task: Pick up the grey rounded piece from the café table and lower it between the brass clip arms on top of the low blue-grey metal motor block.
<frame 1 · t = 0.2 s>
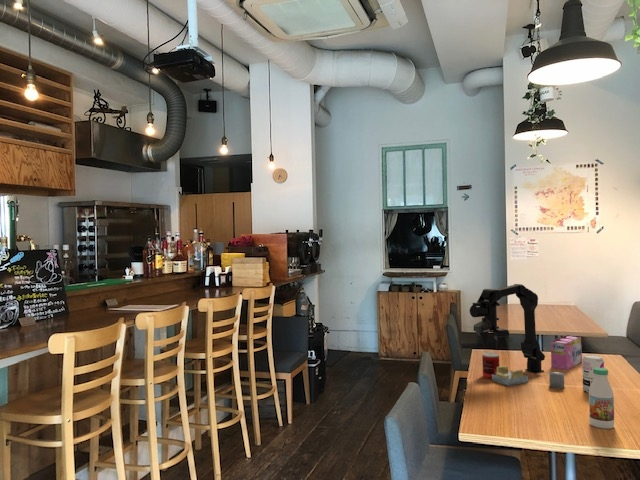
hand: (491, 348, 238), 14 cm above the table, fingers open, 9 cm apart
canned food: (491, 377, 241), on the table
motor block: (509, 381, 233), on the table
pink drink carton pack: (567, 365, 262), on the table
grey rounded piece: (557, 387, 223), on the table
supplement can: (593, 392, 215), on the table
milk bottle: (601, 425, 177), on the table
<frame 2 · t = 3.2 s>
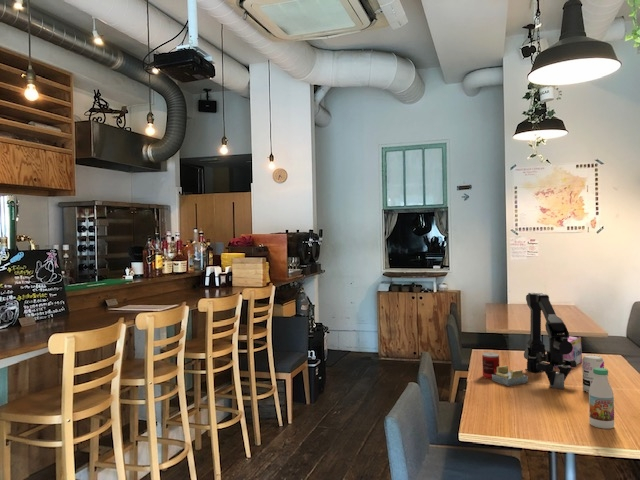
hand: (556, 384, 223), 1 cm above the table, fingers closed on grey rounded piece, 6 cm apart
grey rounded piece: (557, 386, 223), on the table, touching gripper
everything else where it was.
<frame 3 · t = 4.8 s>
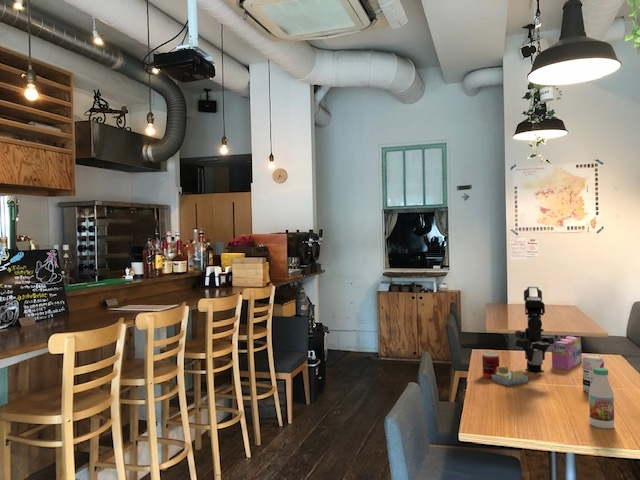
hand: (535, 360, 227), 11 cm above the table, fingers closed on grey rounded piece, 6 cm apart
grey rounded piece: (535, 363, 227), point 10 cm above the table, touching gripper
everything else where it was.
when the fingers open (6 cm above the table, at t = 6.7 s): grey rounded piece drops 2 cm, resting on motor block.
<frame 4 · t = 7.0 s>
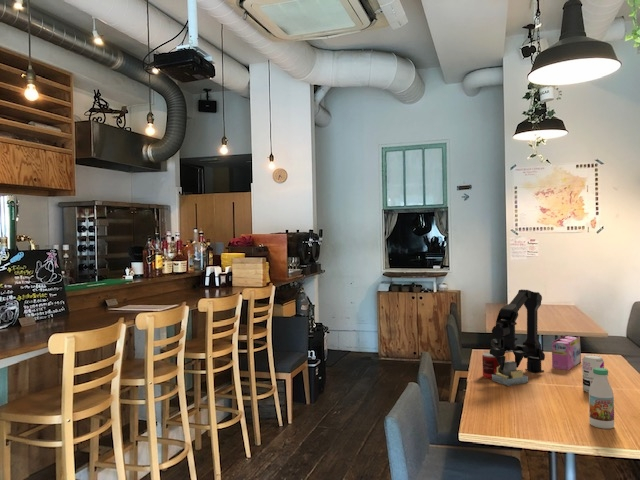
hand: (509, 368, 233), 6 cm above the table, fingers open, 9 cm apart
grey rounded piece: (509, 375, 233), point 3 cm above the table, touching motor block
everything else where it was.
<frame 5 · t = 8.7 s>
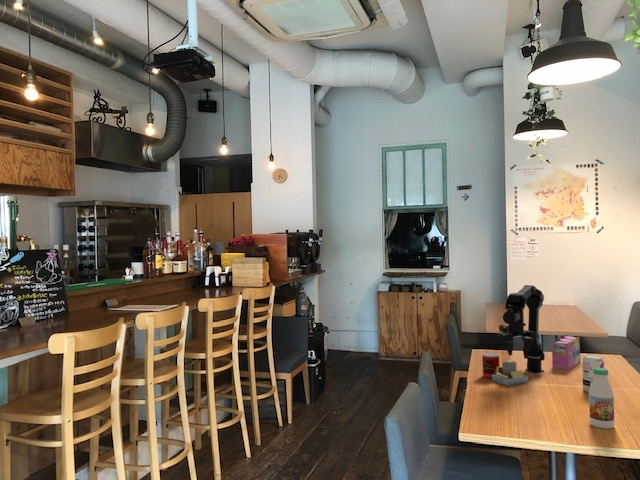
hand: (518, 354, 233), 13 cm above the table, fingers open, 9 cm apart
nothing on the table moved.
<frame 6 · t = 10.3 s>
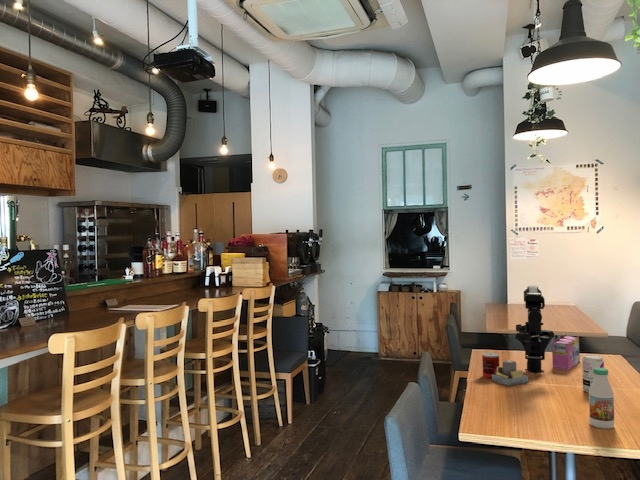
hand: (535, 353, 231), 13 cm above the table, fingers open, 9 cm apart
nothing on the table moved.
at the end: grey rounded piece 0.1 cm off-centre on the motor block, point 3.0 cm above the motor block's base; grey rounded piece tilted 1° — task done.
